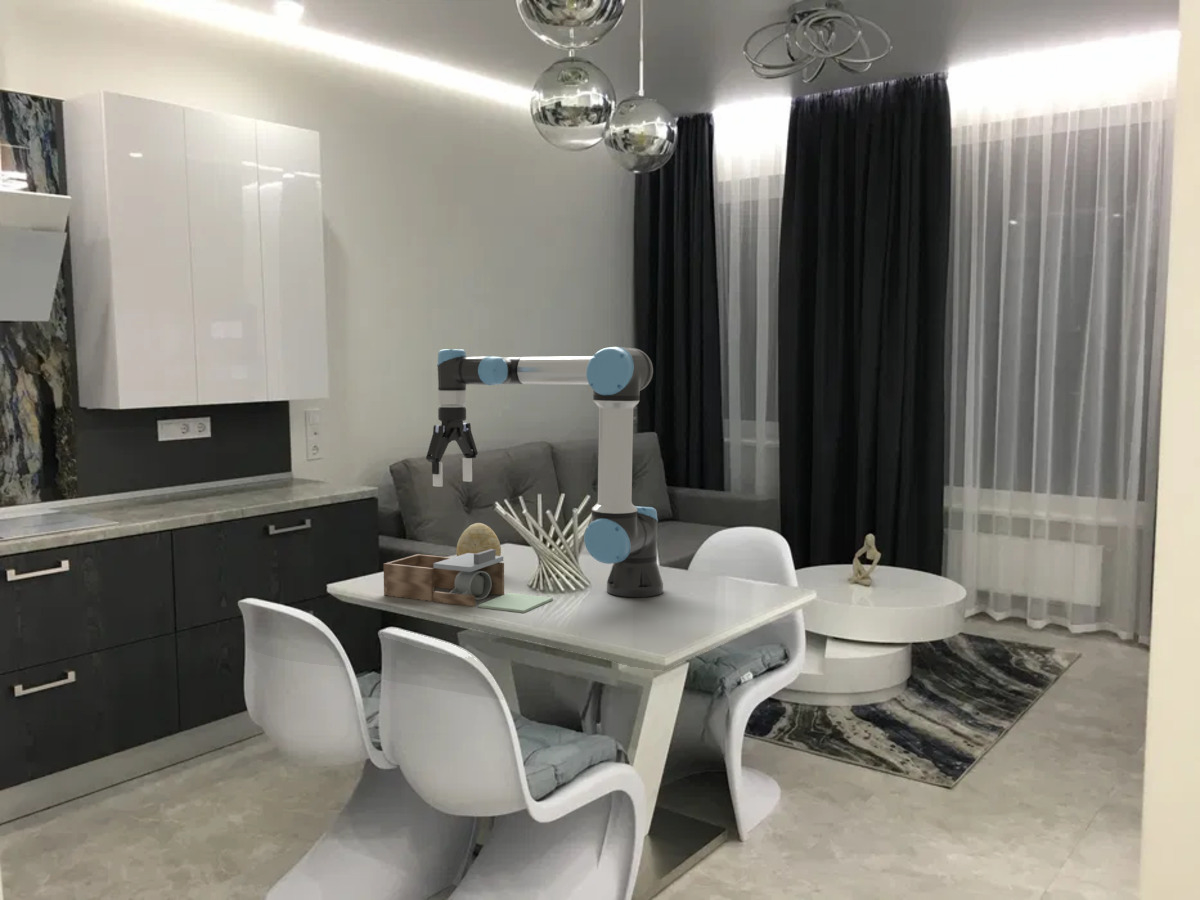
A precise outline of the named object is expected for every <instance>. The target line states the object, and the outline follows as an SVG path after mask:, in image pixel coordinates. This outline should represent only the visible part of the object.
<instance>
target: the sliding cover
mask: <svg viewBox="0 0 1200 900" xmlns="http://www.w3.org/2000/svg"><path fill="white" fill-rule="evenodd" d="M499 562H500V563H503V562H504V556H503V555H500V556H495V549H489V550H486V551H482V552H479V553H476V554H474V553H466V554H463V555H459V556H457V555H456V556H454V557H451V558H450V559H446V560H443V561H440V562H436V563H433V568H438V569H447V570H456V571H466V572H472V571H475V570H478V569H481V568H484V567H487V566H490V565H493V564H496V563H499Z"/></svg>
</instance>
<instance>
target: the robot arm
mask: <svg viewBox="0 0 1200 900" xmlns="http://www.w3.org/2000/svg"><path fill="white" fill-rule="evenodd" d="M653 374H654V367H653V363H652V360H651V358H650V357H649V356H648V355H647V353H645V352H644V351H642V350H641V349H638V348H636V347H622V346H610V347H605V348H602V349H599V350H598V351H597V352H595V353H594V354H593V355H592V356H591V355H589V356H587V355H586V356H585V355H583V356H582V355H581V356H576V355H575V356H495V355H487V356H484V355H483V356H467V354H466V351H465V350H464V349H461V348H460V349H458V348H457V349H455V348H454V349H450V348H449V349H447V348H446V349H440V350H439V351H438V353H437V383H438V384H437V386H438V388H437V390H438V395H437V397H438V399H437V401H438V403H437V404H438V406H439V407H438V408H437V413H438V414H437V415H438V421H440V422H441V424H434V425H433V428H432V437H431V439H430V443H429V447H428V450H427V452H426V453H427V454H426V457H425V459H426V461H428V462H429V463H431V474H432V486H433V487H436V488H437V487H441V488H442V487H444V486H443V485H444V483H443V482H444V481H443V479H444V475H443V469H444V468H443V462H442V461H441V460H442V458H443V455H444V454H445V453H446V452H445V451H446V450H447V448H448V446H449V444H450V443H451V442H452V441H456V443H457V446H458V447H459V449H460V450H461V452H462V455H463V456H464V457H462V482H469V483H470V482H471V483H472V482H473V467H474V466H473V463H474V462H473V459H476V457H477V456H478V449H477V446H476V442H475V439H474V436H473V433H472V427H471V423H470V422H464V421H466V420H467V408H466V407H465V405H467V391H466V390H467V385H478V386H479V385H481V386H482V385H484V386H485V385H486V386H495V385H497V386H498V385H586V386H590V388H591V389H592V390H593V391H592V393H593V394H592V398H593V399H592V400H593V401H592V402H593V403H594V404H595V405H596V406H597V408H598V409H599V410H598V412H599V413H598V458H597V459H598V463H597V464H598V467H597V469H598V470H597V502H596V503H595V504H594V505H593V506H592V507H591V522H590V523H589V524H588V526H587V527H586V529H585V531H584V533H583V534H584V536H583V540H584V541H583V542H584V547H585V548H586V551H587V553H588V554H589V555H590V556H591V557H592V558H593V559H594V560H596V561H598V562H600V563H602V564H607V565H609V564H611V565H612V566H611V568H610V572H609V574H608V578H607V581H606V592H607V593H608V594H610V595H614V596H618V597H625V598H645V597H646V598H647V597H648V598H649V597H655V596H658V595H661V594H662V593H663V592H664V582H663V579H662V578H663V577H662V576H661V572H660V570H659V566H658V558H657V557H658V522H659V519H658V513H657V512H658V511H657V510H656V508H654V507H652V506H636V505H634V504H633V501H632V498H633V497H632V496H633V495H632V494H633V493H632V488H633V486H632V485H633V448H634V447H633V445H634V444H633V440H634V439H633V437H634V436H633V435H634V434H633V433H634V408H635V407H636V406H637V405H638V404H639V402H640V393H641V392H640V391H642V390H644V389H645V388H646V387H647V386H648V385H649V384H650V382H651V381H652V379H653Z"/></svg>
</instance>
